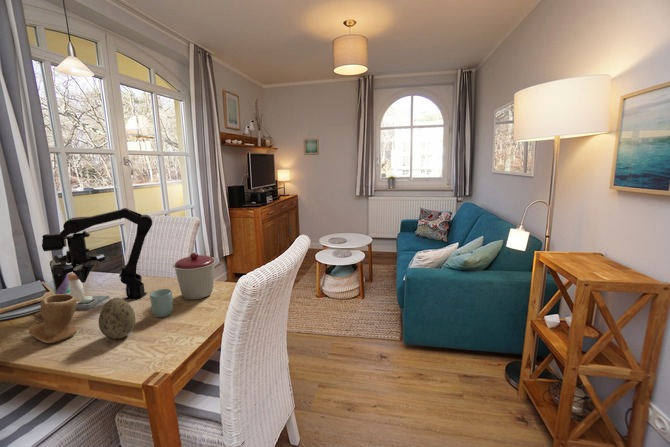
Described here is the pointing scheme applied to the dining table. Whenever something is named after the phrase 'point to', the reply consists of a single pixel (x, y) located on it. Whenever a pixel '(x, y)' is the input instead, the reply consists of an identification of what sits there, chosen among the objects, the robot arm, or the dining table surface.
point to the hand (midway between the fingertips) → (83, 282)
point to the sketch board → (90, 305)
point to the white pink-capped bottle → (75, 286)
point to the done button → (86, 300)
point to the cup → (161, 302)
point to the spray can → (60, 280)
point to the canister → (195, 276)
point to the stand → (38, 317)
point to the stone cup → (55, 318)
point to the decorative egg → (116, 318)
